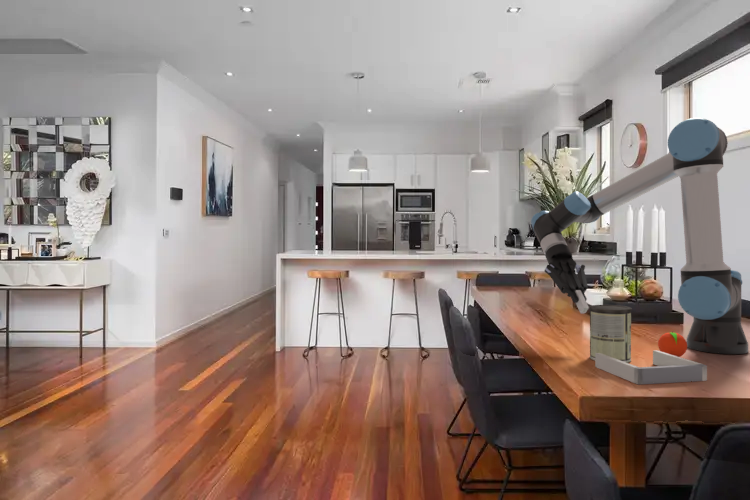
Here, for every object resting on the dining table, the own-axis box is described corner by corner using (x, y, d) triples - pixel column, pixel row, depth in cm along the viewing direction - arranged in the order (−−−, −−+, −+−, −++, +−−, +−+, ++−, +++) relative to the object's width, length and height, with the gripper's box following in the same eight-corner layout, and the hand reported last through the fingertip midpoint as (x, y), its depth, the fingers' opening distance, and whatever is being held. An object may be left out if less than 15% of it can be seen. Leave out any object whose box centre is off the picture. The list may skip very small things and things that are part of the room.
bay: (595, 366, 132) (595, 353, 132) (657, 363, 135) (657, 350, 135) (637, 384, 116) (638, 368, 116) (706, 380, 119) (707, 365, 119)
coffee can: (584, 354, 146) (584, 304, 145) (622, 355, 145) (623, 304, 144) (596, 363, 136) (596, 309, 135) (637, 364, 135) (638, 309, 134)
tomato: (691, 362, 136) (691, 335, 136) (661, 360, 138) (662, 333, 138) (683, 355, 144) (683, 330, 144) (655, 354, 146) (655, 328, 146)
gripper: (570, 258, 170) (599, 317, 154) (533, 258, 168) (558, 318, 152) (579, 242, 165) (611, 302, 149) (541, 242, 163) (568, 303, 147)
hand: (584, 310), depth 150 cm, fingers closed
